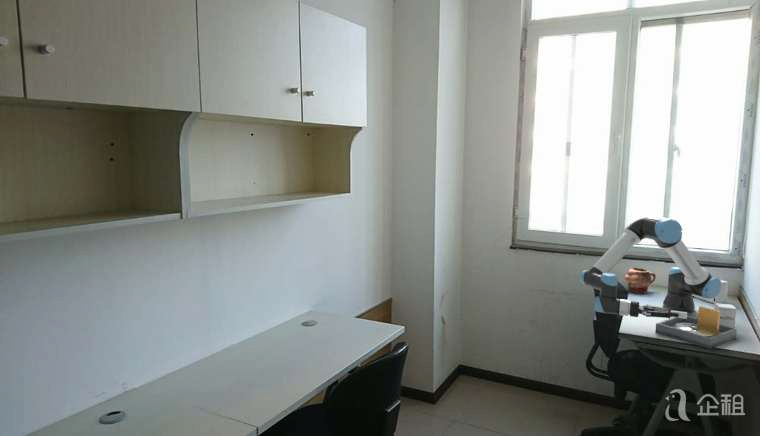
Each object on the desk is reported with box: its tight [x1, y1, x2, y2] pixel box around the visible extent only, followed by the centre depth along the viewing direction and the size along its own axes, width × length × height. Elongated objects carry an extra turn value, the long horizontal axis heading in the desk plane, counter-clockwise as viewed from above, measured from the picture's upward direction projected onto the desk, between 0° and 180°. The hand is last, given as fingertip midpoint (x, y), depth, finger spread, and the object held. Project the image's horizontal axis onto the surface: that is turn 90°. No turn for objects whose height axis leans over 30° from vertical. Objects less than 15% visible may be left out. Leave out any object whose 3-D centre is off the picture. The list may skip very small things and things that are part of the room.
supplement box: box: [714, 303, 737, 328], centre depth 244 cm, size 7×7×13 cm
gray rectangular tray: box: [654, 315, 738, 349], centre depth 238 cm, size 24×24×4 cm
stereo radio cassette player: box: [692, 279, 729, 305], centre depth 296 cm, size 21×8×20 cm, turn 13°
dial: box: [674, 305, 721, 338], centre depth 237 cm, size 18×17×12 cm
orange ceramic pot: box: [624, 267, 657, 294], centre depth 313 cm, size 20×12×14 cm, turn 104°
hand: (686, 315), depth 234 cm, fingers closed
